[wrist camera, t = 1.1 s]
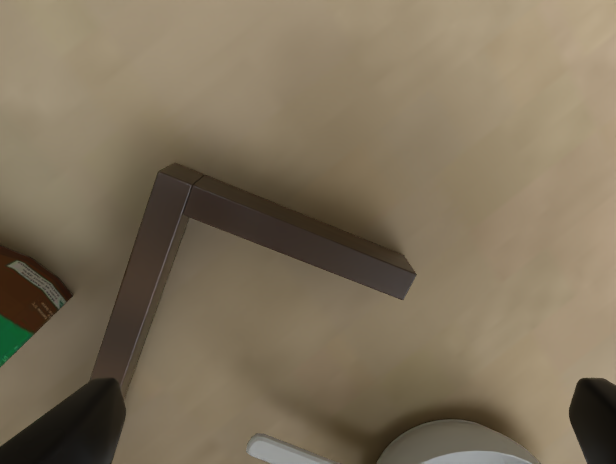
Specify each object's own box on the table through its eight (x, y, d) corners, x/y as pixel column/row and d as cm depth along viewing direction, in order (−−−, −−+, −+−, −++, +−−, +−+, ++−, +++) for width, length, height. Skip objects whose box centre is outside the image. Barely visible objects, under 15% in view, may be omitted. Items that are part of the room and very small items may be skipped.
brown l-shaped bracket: (278, 497, 26) (276, 537, 24) (81, 437, 25) (58, 473, 22) (404, 255, 22) (417, 274, 20) (174, 161, 20) (157, 170, 18)
